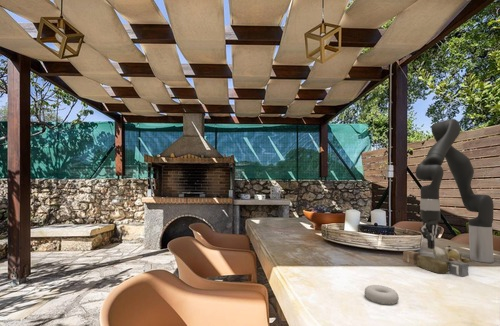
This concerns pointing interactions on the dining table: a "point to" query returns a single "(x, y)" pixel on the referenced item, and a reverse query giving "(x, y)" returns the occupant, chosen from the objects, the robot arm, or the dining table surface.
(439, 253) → the ceramic sculpture
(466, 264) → the charcoal block
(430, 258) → the stone block
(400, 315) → the dining table surface
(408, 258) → the cardboard box
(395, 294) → the donut
